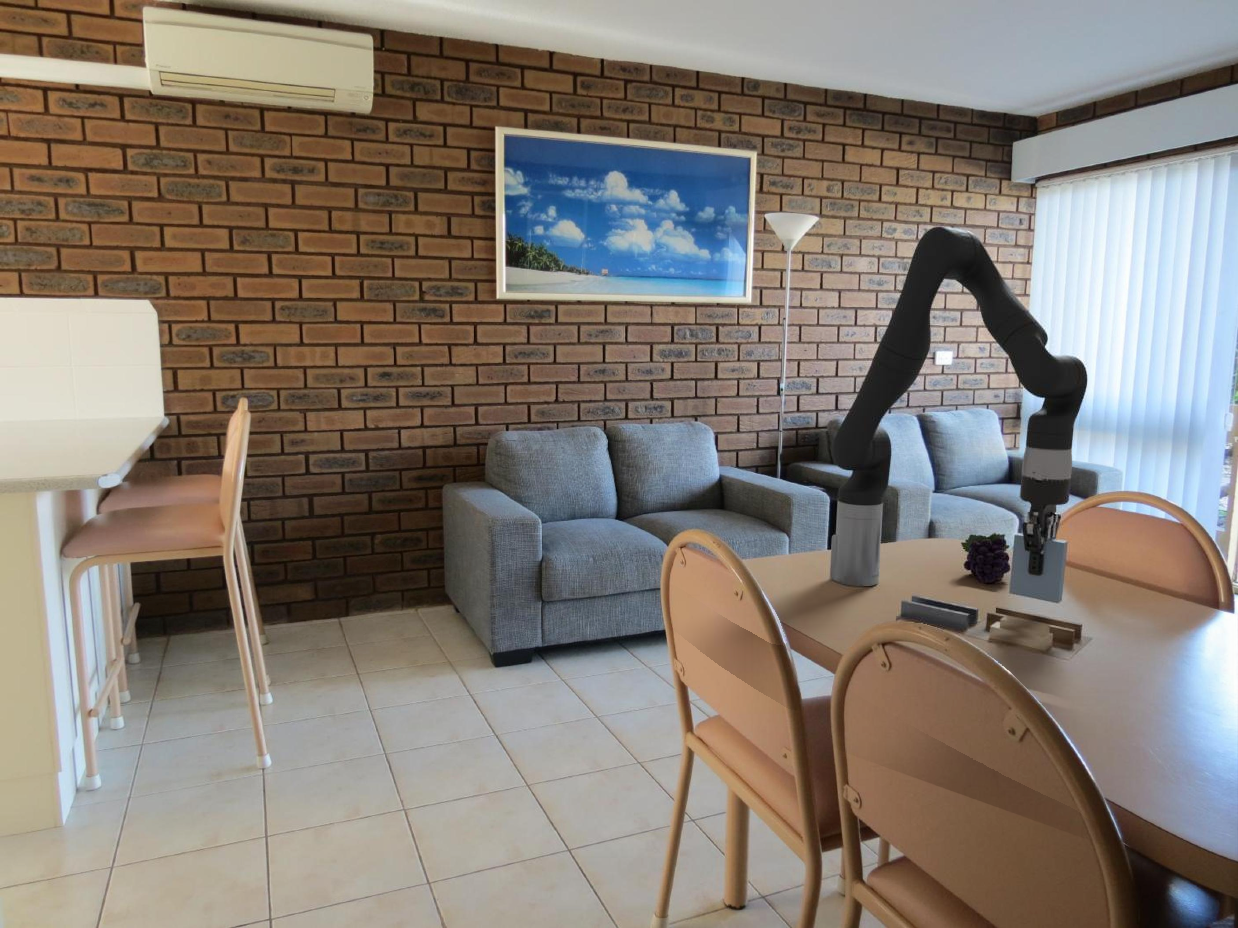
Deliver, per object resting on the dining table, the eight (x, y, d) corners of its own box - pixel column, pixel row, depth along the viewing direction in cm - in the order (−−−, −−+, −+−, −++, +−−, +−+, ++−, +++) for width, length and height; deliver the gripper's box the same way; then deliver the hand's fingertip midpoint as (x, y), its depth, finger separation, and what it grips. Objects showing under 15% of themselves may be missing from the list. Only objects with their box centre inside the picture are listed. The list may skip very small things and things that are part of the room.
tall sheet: (1009, 593, 153) (1014, 534, 151) (1013, 590, 154) (1018, 532, 153) (1058, 603, 148) (1064, 542, 146) (1061, 600, 149) (1067, 540, 147)
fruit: (973, 598, 185) (957, 564, 198) (1026, 593, 183) (1006, 558, 196) (971, 556, 181) (954, 524, 195) (1025, 551, 179) (1004, 518, 193)
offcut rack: (961, 639, 150) (962, 620, 150) (990, 621, 160) (992, 602, 160) (1068, 665, 139) (1070, 644, 138) (1092, 643, 149) (1094, 623, 149)
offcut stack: (989, 637, 149) (990, 617, 148) (996, 632, 151) (998, 613, 151) (1045, 650, 143) (1047, 630, 142) (1052, 645, 145) (1053, 624, 145)
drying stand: (896, 621, 160) (897, 602, 159) (916, 610, 166) (918, 592, 166) (961, 637, 152) (963, 617, 151) (980, 624, 158) (982, 606, 158)
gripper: (1035, 467, 155) (1027, 561, 158) (1009, 475, 145) (1000, 576, 148) (1081, 472, 150) (1072, 569, 153) (1057, 481, 140) (1048, 585, 143)
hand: (1037, 572), depth 150 cm, fingers closed on tall sheet, 1 cm apart
